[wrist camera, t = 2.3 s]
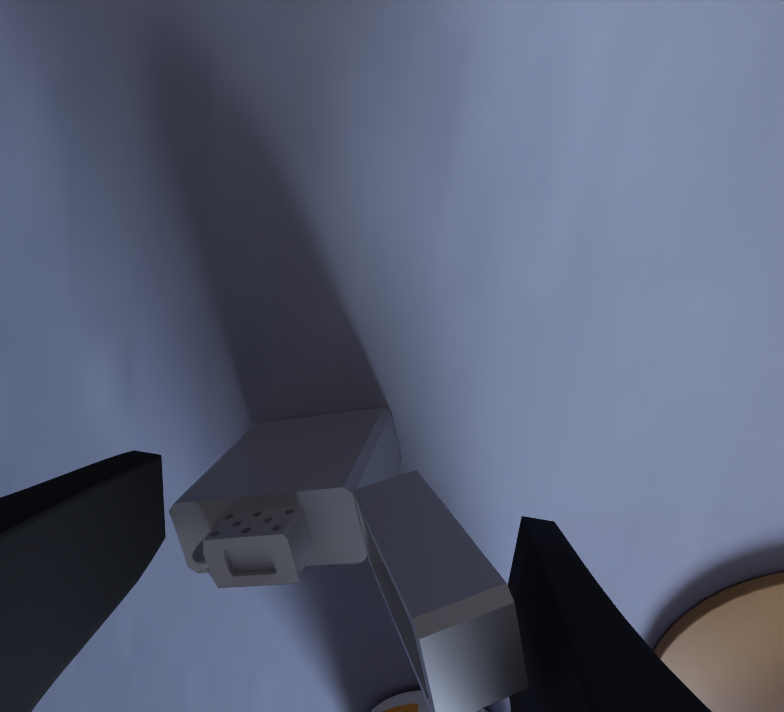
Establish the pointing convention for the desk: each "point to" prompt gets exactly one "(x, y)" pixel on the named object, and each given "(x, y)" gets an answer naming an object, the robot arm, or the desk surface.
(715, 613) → the coaster
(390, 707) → the pill bottle
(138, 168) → the desk surface
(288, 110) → the desk surface
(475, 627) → the lighter
